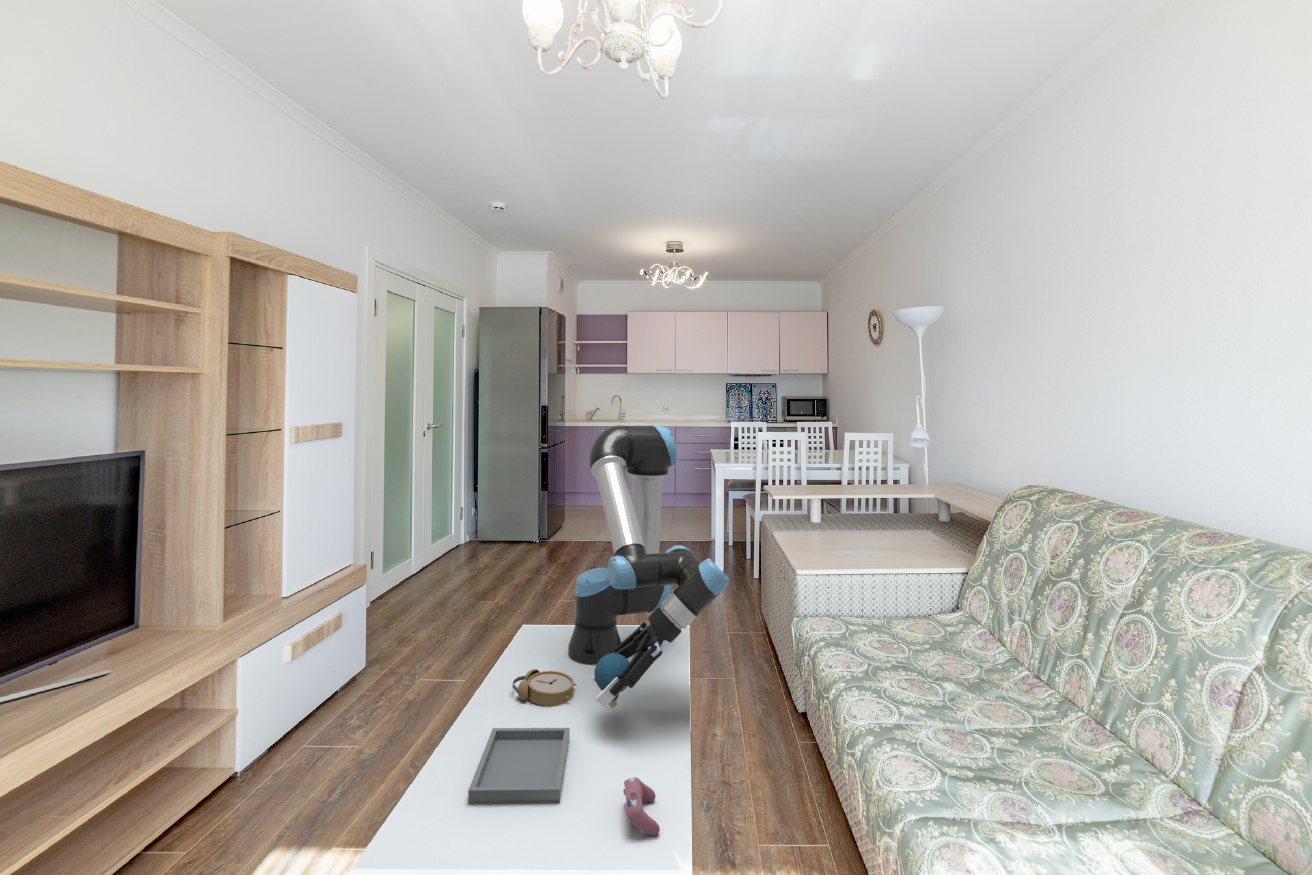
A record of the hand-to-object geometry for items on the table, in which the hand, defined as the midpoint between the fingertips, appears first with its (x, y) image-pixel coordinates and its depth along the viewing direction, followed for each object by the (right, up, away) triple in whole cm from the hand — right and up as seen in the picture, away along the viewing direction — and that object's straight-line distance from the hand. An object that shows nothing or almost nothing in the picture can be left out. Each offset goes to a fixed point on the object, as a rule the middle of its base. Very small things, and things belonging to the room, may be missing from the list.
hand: (598, 692), depth 132 cm
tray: (-13, -8, -16) cm, 22 cm away
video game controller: (+10, -10, -28) cm, 32 cm away
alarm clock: (-15, -7, +14) cm, 21 cm away
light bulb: (+3, -4, +1) cm, 5 cm away
